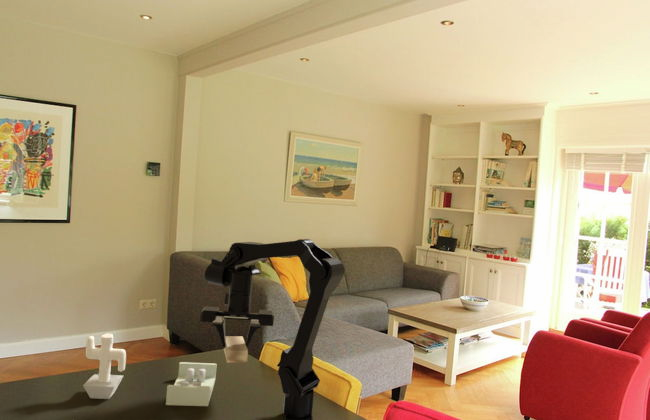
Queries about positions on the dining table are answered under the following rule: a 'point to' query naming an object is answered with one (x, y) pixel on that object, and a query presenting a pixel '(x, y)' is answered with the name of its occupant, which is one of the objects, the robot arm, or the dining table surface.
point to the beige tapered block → (235, 349)
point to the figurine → (104, 367)
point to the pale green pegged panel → (192, 385)
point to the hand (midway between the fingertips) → (235, 348)
